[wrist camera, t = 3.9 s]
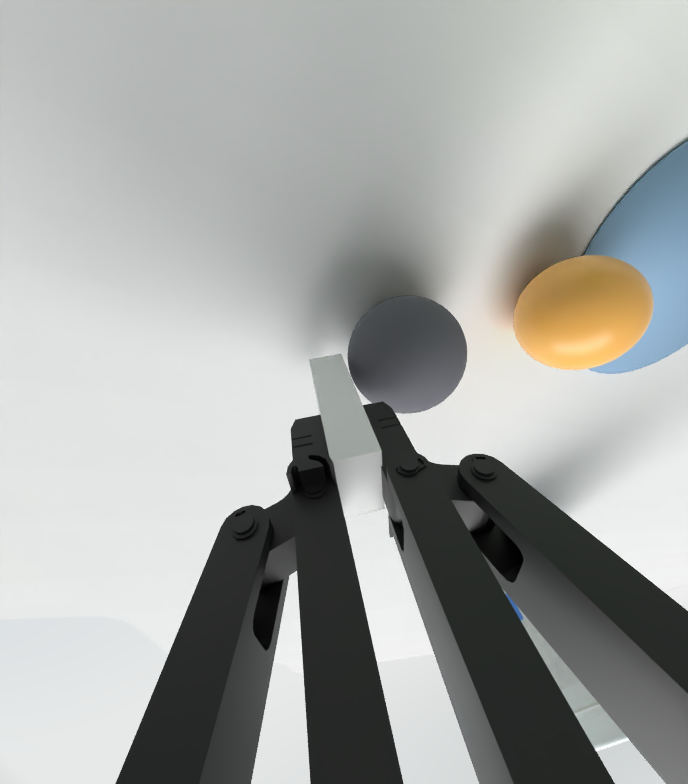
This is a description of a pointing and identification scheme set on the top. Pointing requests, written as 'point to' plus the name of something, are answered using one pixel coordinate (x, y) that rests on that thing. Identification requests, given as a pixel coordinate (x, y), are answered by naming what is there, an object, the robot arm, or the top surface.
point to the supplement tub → (575, 693)
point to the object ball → (583, 312)
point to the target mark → (653, 256)
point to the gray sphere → (407, 354)
